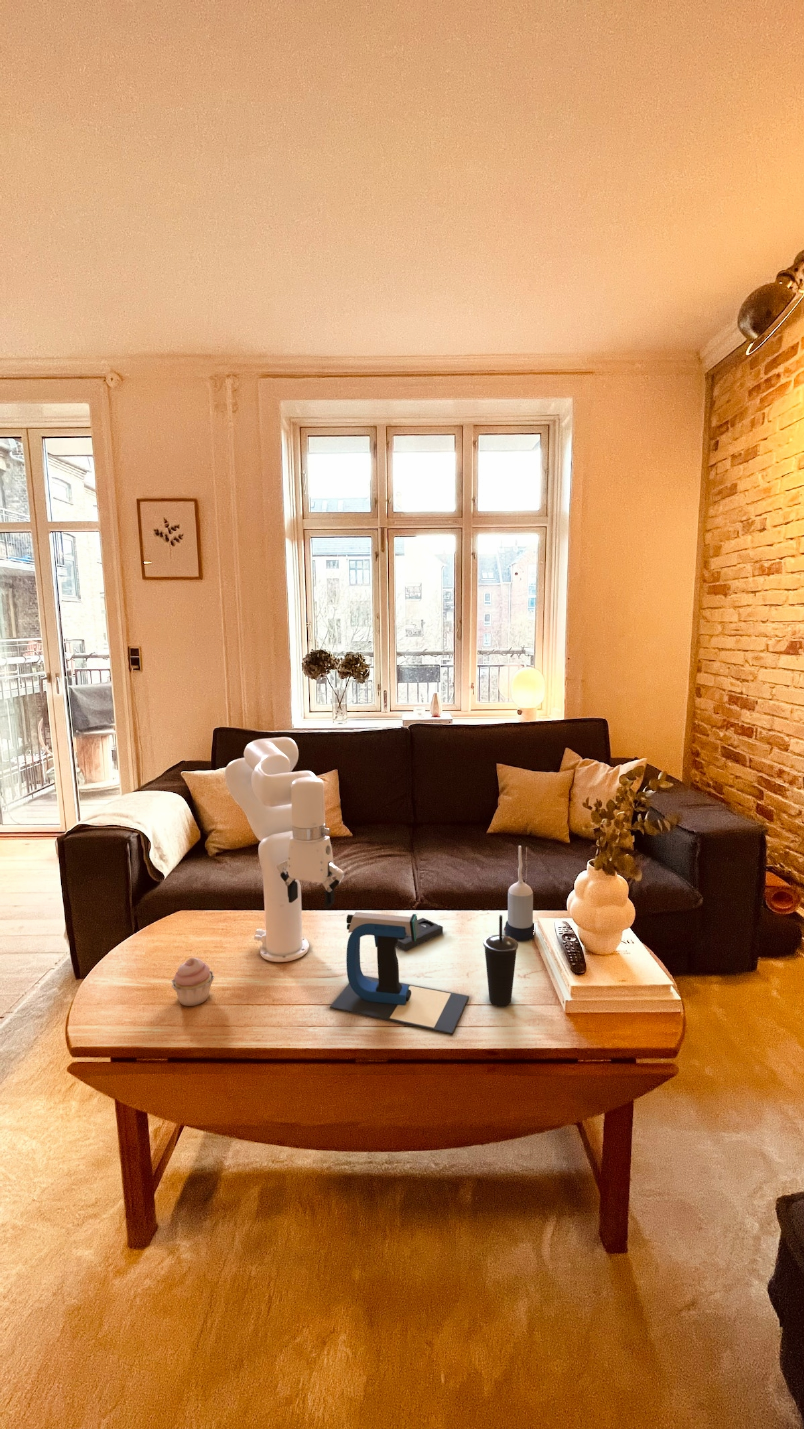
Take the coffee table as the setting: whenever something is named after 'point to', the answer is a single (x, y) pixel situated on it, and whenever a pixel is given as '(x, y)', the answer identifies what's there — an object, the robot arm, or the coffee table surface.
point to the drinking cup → (500, 966)
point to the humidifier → (520, 909)
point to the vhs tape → (420, 934)
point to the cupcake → (193, 982)
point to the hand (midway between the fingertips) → (311, 903)
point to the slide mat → (409, 1008)
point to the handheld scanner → (379, 955)
